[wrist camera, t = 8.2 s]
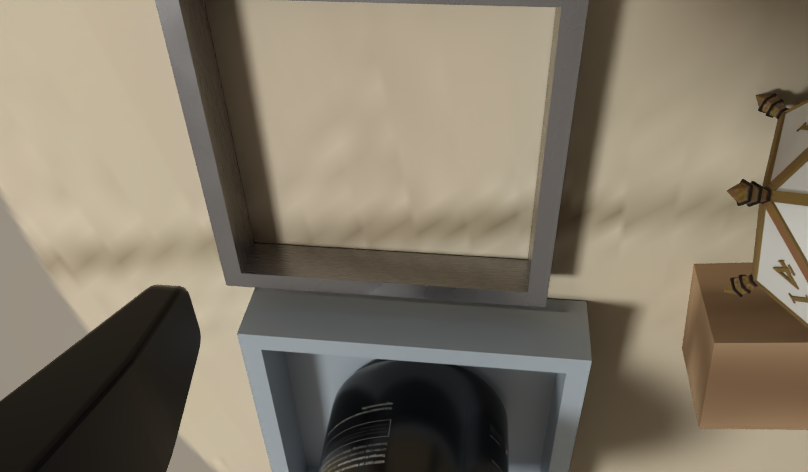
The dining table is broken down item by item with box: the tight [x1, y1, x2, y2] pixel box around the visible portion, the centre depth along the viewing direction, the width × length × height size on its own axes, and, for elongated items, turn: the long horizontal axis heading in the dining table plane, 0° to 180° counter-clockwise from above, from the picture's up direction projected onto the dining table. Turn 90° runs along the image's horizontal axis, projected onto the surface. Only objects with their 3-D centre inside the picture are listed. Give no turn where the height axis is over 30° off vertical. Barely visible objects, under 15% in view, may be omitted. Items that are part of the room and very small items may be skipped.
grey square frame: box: [155, 0, 589, 307], centre depth 21 cm, size 10×10×2 cm
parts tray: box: [237, 287, 592, 472], centre depth 28 cm, size 11×11×3 cm
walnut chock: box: [682, 263, 808, 430], centre depth 23 cm, size 4×6×4 cm, turn 98°
